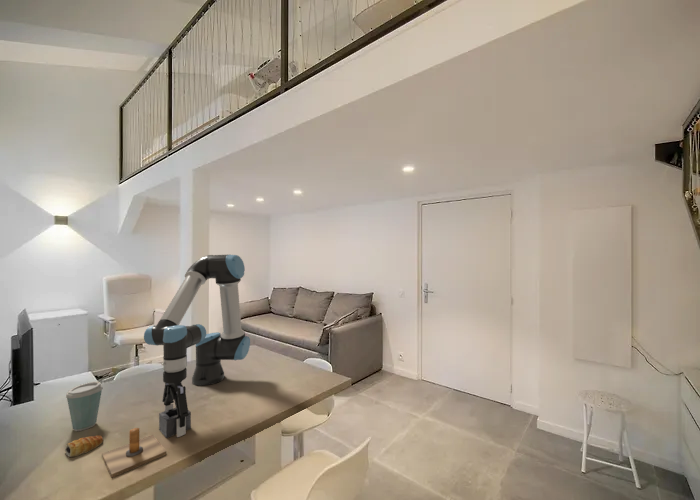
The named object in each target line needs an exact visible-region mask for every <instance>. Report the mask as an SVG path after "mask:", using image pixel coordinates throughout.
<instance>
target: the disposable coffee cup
mask: <svg viewBox="0 0 700 500" xmlns="http://www.w3.org/2000/svg"><path fill="white" fill-rule="evenodd" d="M102 390H103V384H102V383H101V382H100V381H96V380H95V381H89V382H85V383H83V384H79V385H77V386H74V387H73V388H70V389H69V390H68V392H66V396H65V398H66V400H67V405H68V410H69V415H70V421H71V426H72V429H73V432H81V431H84V430H88V429H91V428H92V427H94V426H95V425H96V423H97V421H98V420H97V419H98V414H99V409H100V404H101V398H102V397H101V395H102Z"/></svg>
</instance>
